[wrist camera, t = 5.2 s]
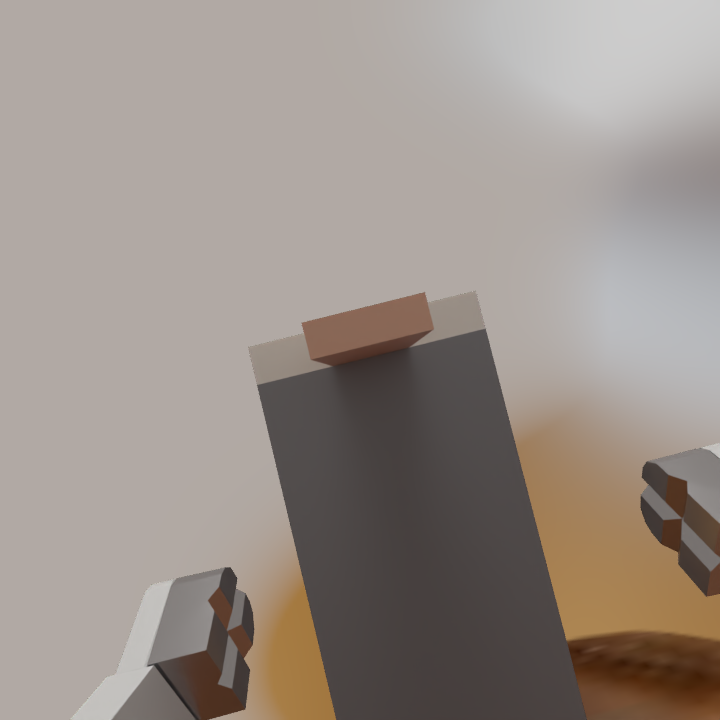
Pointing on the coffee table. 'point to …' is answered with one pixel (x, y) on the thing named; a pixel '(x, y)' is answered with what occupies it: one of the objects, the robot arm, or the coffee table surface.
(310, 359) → the lid
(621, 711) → the coffee table surface
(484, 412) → the carton
